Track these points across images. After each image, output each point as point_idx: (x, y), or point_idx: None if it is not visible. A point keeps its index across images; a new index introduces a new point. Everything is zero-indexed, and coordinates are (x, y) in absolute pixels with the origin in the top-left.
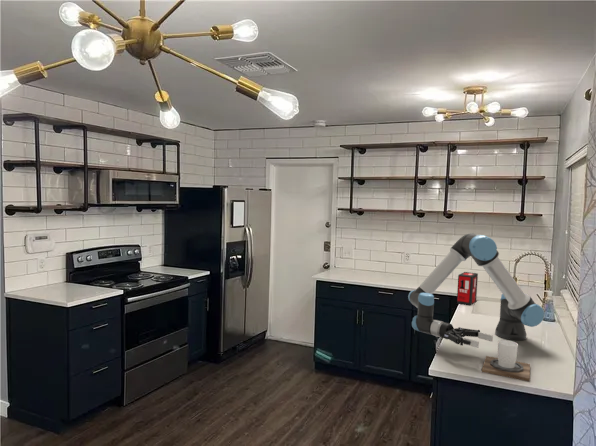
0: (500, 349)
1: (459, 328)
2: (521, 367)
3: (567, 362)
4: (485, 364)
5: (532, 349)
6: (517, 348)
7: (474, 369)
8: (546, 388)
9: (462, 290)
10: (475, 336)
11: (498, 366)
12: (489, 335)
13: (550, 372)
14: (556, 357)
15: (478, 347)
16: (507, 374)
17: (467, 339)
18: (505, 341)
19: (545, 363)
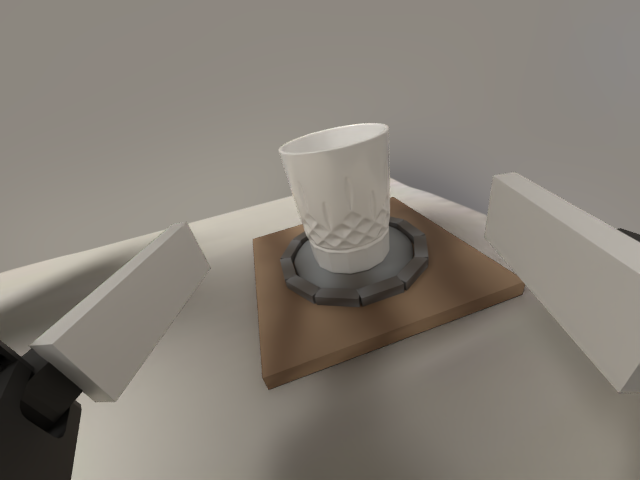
0: (387, 169)
1: None
2: None
3: (158, 232)
4: (432, 304)
5: (24, 315)
6: (327, 148)
7: (553, 333)
8: (396, 185)
9: None
10: (68, 448)
11: (398, 257)
12: (174, 238)
13: (269, 217)
14: (118, 253)
15: (485, 235)
16: (433, 223)
17: (638, 249)
18: (289, 160)
19: None
